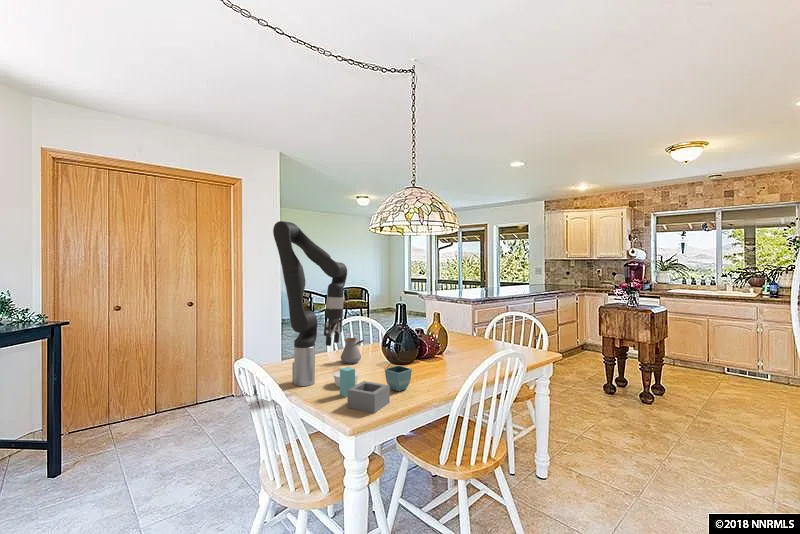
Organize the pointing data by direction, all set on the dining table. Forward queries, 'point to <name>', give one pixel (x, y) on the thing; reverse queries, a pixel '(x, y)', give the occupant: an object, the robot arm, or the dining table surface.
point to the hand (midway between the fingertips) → (332, 344)
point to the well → (368, 396)
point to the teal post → (346, 380)
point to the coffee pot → (351, 351)
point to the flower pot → (398, 377)
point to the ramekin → (337, 378)
